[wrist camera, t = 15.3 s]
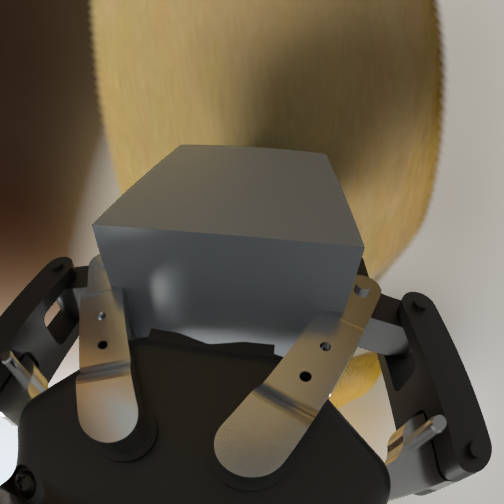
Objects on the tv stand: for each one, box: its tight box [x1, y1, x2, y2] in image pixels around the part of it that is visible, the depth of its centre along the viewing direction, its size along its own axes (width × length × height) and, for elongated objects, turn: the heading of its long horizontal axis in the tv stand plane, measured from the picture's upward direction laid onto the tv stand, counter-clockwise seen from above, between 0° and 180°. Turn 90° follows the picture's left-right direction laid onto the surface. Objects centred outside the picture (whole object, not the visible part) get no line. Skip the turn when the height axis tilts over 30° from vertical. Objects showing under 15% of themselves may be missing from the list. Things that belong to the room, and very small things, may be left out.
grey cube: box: [92, 145, 365, 357], centre depth 11 cm, size 7×7×7 cm
